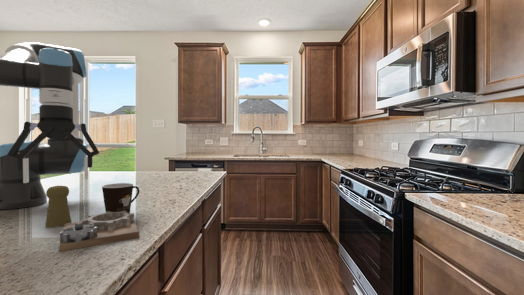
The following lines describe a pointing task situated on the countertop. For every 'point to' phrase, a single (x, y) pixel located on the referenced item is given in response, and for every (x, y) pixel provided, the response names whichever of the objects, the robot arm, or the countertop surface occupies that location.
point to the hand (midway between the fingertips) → (57, 180)
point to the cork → (57, 207)
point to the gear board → (105, 229)
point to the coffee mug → (118, 197)
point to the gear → (78, 233)
